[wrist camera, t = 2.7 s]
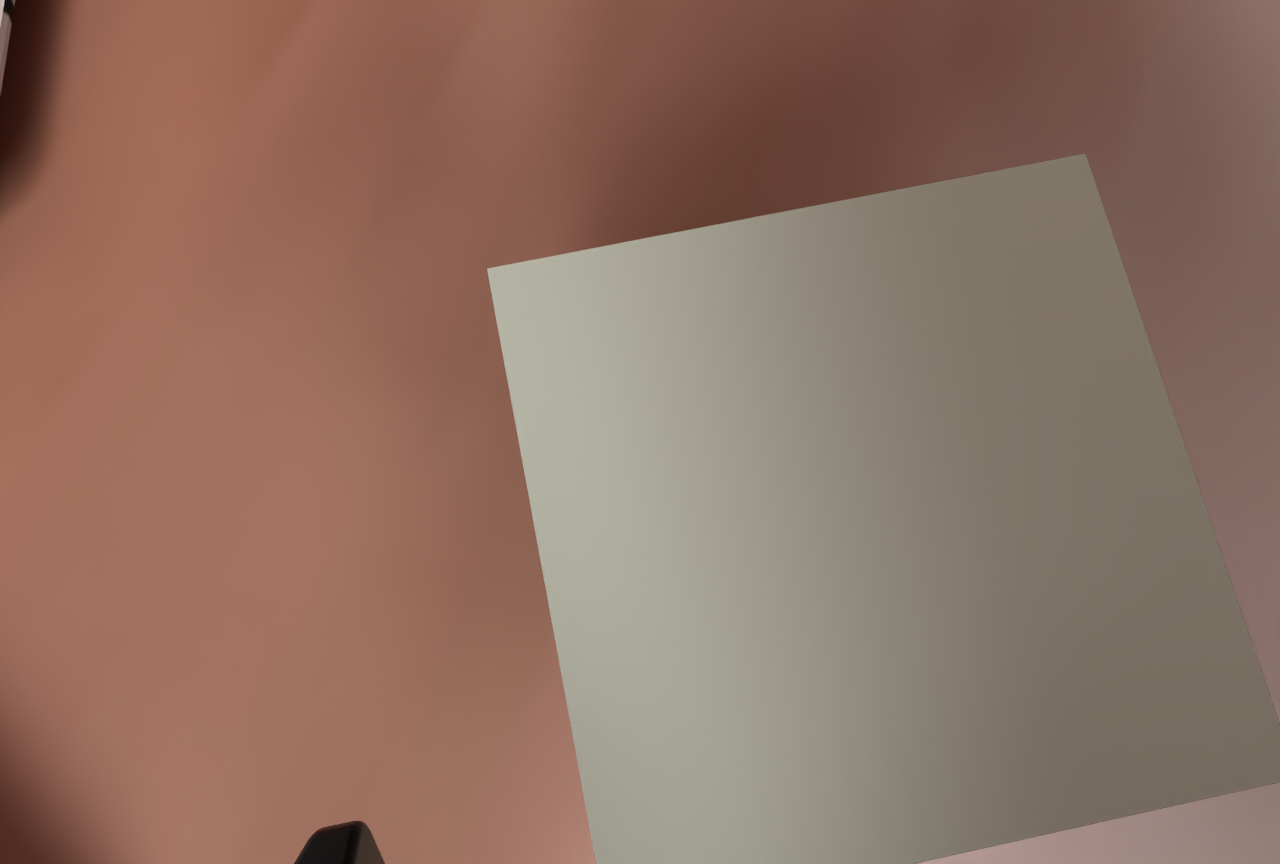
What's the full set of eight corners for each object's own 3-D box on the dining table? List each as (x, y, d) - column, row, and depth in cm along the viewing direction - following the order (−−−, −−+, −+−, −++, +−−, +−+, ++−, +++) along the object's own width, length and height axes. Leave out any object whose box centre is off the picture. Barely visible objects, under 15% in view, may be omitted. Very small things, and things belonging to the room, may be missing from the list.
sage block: (910, 723, 18) (1298, 777, 7) (629, 784, 18) (608, 932, 7) (838, 449, 19) (1085, 152, 9) (574, 502, 19) (486, 268, 8)
